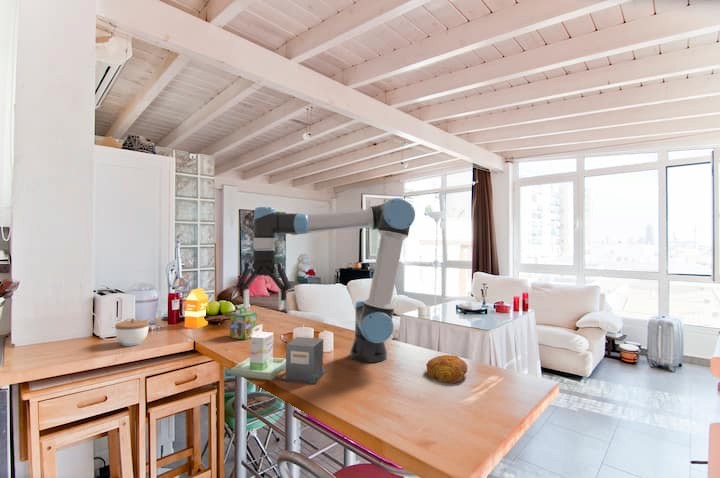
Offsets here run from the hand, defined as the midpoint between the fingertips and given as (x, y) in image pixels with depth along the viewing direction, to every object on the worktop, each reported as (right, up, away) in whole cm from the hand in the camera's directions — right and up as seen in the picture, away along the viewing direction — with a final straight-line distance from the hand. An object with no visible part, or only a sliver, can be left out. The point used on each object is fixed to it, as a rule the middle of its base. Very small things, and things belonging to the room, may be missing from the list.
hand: (263, 308), depth 130 cm
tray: (-1, -22, 0) cm, 22 cm away
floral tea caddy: (-22, -23, +44) cm, 54 cm away
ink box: (-1, -21, 0) cm, 21 cm away
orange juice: (-53, -22, +63) cm, 86 cm away
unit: (+16, -23, -5) cm, 28 cm away
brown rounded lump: (+66, -25, 0) cm, 71 cm away
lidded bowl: (-66, -21, +28) cm, 74 cm away
